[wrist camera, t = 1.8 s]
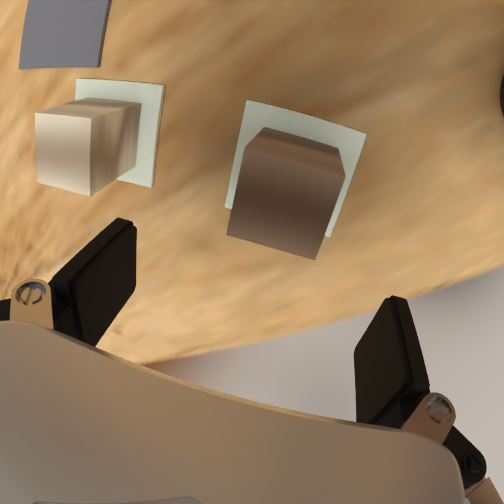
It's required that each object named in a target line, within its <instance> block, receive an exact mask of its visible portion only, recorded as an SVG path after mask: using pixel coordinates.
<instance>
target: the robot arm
mask: <svg viewBox="0 0 504 504" xmlns="http://www.w3.org/2000/svg"><path fill="white" fill-rule="evenodd" d="M136 241H137V228H136V227H135V226H133V222H132V221H129V220H125V219H122V218H117V219H115V220H114V221H113V222H112V223H111V224H110V225H108V226H107V227H106V228H105V229H104V230H103V231H102V232H100V233H99V234H98V235H97V236H96V237H95V238H94V239H93V240H91V241H90V242H89V243H88V244H87V245H86V246H85V247H84V248H83V249H82V250H80V251H79V252H78V253H77V254H76V255H75V256H74V257H73V258H72V259H71V260H70V261H69V262H68V263H67V264H66V265H65V266H64V267H62V268H61V269H60V270H59V271H58V272H57V273H56V274H55V275H54V276H53V277H52V280H51V281H50V282H49V283H48V284H47V282H45V281H43V280H41V279H28V280H25V281H23V282H21V283H19V284H18V285H17V286H16V287H15V288H14V289H13V291H12V295H11V298H10V299H5V300H0V504H504V503H503V502H502V500H501V498H500V496H499V494H498V492H497V490H496V489H495V487H494V485H493V484H492V482H491V480H490V478H489V477H488V478H487V479H485V477H484V476H485V474H486V461H485V459H484V456H483V455H482V454H481V452H480V451H479V450H478V449H477V448H476V447H475V446H474V445H473V444H472V443H471V442H470V441H468V440H467V439H466V438H465V437H464V436H463V435H462V434H461V433H460V432H459V431H458V430H457V429H456V428H455V427H454V426H453V424H454V421H455V418H456V415H455V409H454V407H453V405H452V403H451V402H450V401H449V400H448V399H447V397H445V396H444V395H442V394H439V393H430V389H429V386H430V384H429V380H428V375H427V371H426V367H425V363H424V359H423V355H422V351H421V347H420V344H419V340H418V336H417V332H416V329H415V325H414V322H413V319H412V315H411V312H410V309H409V306H408V302H407V300H406V299H404V298H400V297H397V296H393V295H392V296H391V297H390V298H386V299H385V300H384V301H383V303H382V304H381V306H380V308H379V310H378V311H377V313H376V315H375V316H374V318H373V320H372V321H371V323H370V325H369V326H368V328H367V330H366V331H365V333H364V335H363V336H362V338H361V339H360V341H359V342H358V344H357V346H356V348H355V351H354V367H355V388H356V418H357V419H356V422H352V421H346V420H341V419H335V418H329V417H324V416H318V415H313V414H308V413H303V412H298V411H294V410H289V409H284V408H280V407H276V406H272V405H268V404H263V403H259V402H255V401H251V400H248V399H244V398H240V397H236V396H233V395H229V394H226V393H222V392H219V391H215V390H212V389H209V388H205V387H202V386H199V385H196V384H193V383H190V382H186V381H184V380H180V379H177V378H174V377H171V376H168V375H166V374H163V373H160V372H157V371H154V370H152V369H149V368H146V367H144V366H141V365H138V364H136V363H133V362H131V361H128V360H125V359H123V358H121V357H118V356H116V355H113V354H111V353H108V352H106V351H103V350H101V349H98V348H96V347H95V346H96V345H97V343H98V342H99V340H100V339H101V337H102V336H103V334H104V333H105V332H106V330H107V329H108V327H109V326H110V324H111V323H112V322H113V320H114V319H115V317H116V316H117V314H118V313H119V312H120V310H121V309H122V307H123V306H124V305H125V303H126V302H127V300H128V299H129V298H130V296H131V295H132V294H133V292H134V290H135V287H136Z"/></svg>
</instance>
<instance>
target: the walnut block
mask: <svg viewBox="0 0 504 504" xmlns="http://www.w3.org/2000/svg"><path fill="white" fill-rule="evenodd" d="M345 177H346V175H345V172H344V168H343V164H342V160H341V156H340V152H339V149H338V148H336V147H333V146H330V145H327V144H324V143H320V142H317V141H314V140H310V139H307V138H304V137H300V136H296V135H293V134H289V133H286V132H282V131H278V130H274V129H270V128H267V127H263V129H262V130H261V131H260V132H259V133H258V134H257V135H256V136H255V137H254V138H253V139H252V140H251V141H250V142H249V143H248V144H247V146H246V147H245V149H244V153H243V158H242V162H241V167H240V172H239V176H238V181H237V186H236V191H235V195H234V200H233V205H232V210H231V215H230V220H229V225H228V230H227V235H229V236H233V237H236V238H240V239H243V240H247V241H250V242H254V243H257V244H261V245H264V246H267V247H271V248H274V249H278V250H281V251H285V252H288V253H292V254H295V255H299V256H302V257H305V258H309V259H312V260H315V259H316V256H317V253H318V251H319V248H320V246H321V243H322V240H323V238H324V235H325V233H326V230H327V227H328V224H329V222H330V219H331V216H332V214H333V211H334V208H335V205H336V203H337V200H338V197H339V194H340V191H341V189H342V186H343V183H344V180H345Z"/></svg>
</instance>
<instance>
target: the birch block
mask: <svg viewBox="0 0 504 504" xmlns="http://www.w3.org/2000/svg"><path fill="white" fill-rule="evenodd" d="M141 105H142V103H136V102H128V101H120V100H110V99H100V98H85V99H81V100H77V101H73V102H70V103H66V104H62V105H59V106H56V107H52V108H49V109H46V110H42V111H39V112H36V113H35V144H36V166H37V180H38V183H42V184H46V185H49V186H53V187H57V188H60V189H64V190H68V191H71V192H75V193H79V194H82V195H86V196H92V195H93V194H95V193H96V192H98V191H99V190H101V189H102V188H103V187H105V186H106V185H108V184H109V183H111V182H112V181H114V180H115V179H117V178H118V177H120V176H121V175H123V174H124V173H126V172H128V171H129V170H131V169H132V168H134V167H135V166H136V155H137V143H138V132H139V122H140V113H141Z"/></svg>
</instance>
